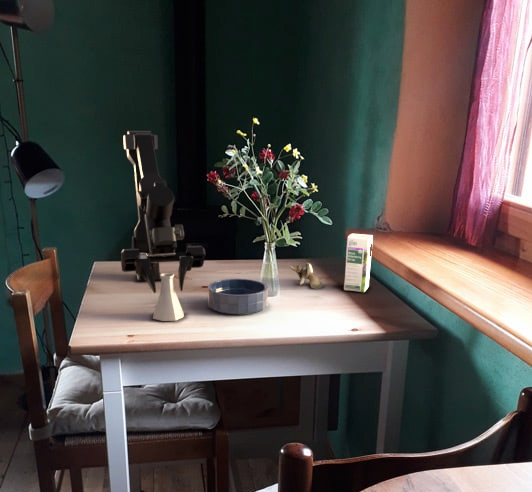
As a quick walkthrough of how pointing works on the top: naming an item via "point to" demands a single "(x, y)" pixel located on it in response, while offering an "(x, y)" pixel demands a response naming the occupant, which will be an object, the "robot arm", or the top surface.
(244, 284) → the blue faceted bowl
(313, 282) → the animal figurine
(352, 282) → the syrup box
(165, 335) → the top surface
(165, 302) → the flask
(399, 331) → the top surface
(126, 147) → the robot arm
